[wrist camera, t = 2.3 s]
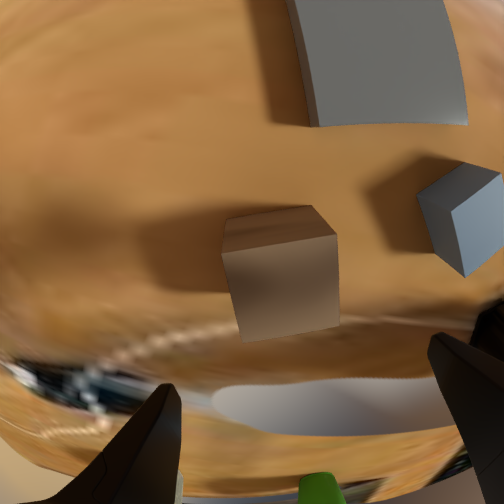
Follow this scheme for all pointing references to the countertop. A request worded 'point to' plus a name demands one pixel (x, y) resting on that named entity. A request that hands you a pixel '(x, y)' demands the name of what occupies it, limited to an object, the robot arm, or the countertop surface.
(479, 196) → the slate block
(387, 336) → the countertop surface
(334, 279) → the walnut cube
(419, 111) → the slate pad
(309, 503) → the cup
